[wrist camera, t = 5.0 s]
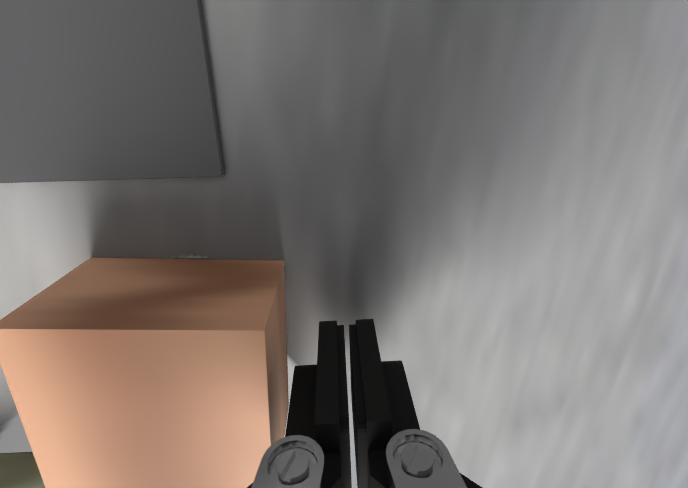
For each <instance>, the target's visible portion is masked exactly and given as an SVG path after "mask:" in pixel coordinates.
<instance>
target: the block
mask: <svg viewBox="0 0 688 488" xmlns="http://www.w3.org/2000/svg"><path fill="white" fill-rule="evenodd" d="M0 364H1V367H2V370H3V372H4V375H5V378H6V381H7V383H8V386H9V389H10V392H11V394H12V397H13V400H14V403H15V405H16V408H17V411H18V414H19V416H20V419H21V422H22V425H23V427H24V430H25V433H26V435H27V438H28V441H29V444H30V446H31V449H32V452H33V455H34V457H35V460H36V463H37V466H38V468H39V471H40V474H41V477H42V479H43V482H44V485H45V488H247V487H248V486H249V485H251V484H252V483H253V482H254V479H255V476H256V473H257V470H258V468H259V465H260V462H261V459H262V457H263V455H264V453H265V452H266V450H267V449H268V448H269V447H270V446H271V445H272V444H273V443H275V442H276V441H278V440H279V439H281V438H284V435H285V427H286V420H287V412H288V404H289V402H288V401H289V400H288V366H287V344H286V311H285V278H284V260H219V259H152V258H90V259H88V260H87V261H85V262H84V263H82V264H81V265H79V266H78V267H77V268H75V269H74V270H72V271H71V272H69V273H68V274H66V275H65V276H64V277H62V278H61V279H59V280H58V281H56V282H55V283H53V284H52V285H51V286H49V287H48V288H46V289H45V290H43V291H42V292H40V293H39V294H37V295H36V296H35V297H33V298H32V299H30V300H29V301H27V302H26V303H24V304H23V305H22V306H20V307H19V308H17V309H16V310H14V311H13V312H11V313H10V314H9V315H7V316H6V317H4V318H3V319H1V320H0Z"/></svg>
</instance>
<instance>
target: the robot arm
mask: <svg viewBox="0 0 688 488" xmlns="http://www.w3.org/2000/svg"><path fill="white" fill-rule="evenodd" d="M349 337H350V366H351V395H352V412H353V426H354V441H355V455H356V471H357V486H358V488H482V487H480V486H479V485H477V484H476V483H474V482H473V481H471V480H470V479H468V478H467V477H465V476H464V475H462V474H461V473H459V471H458V469H457V467H456V465H455V463H454V461H453V459H452V457H451V455H450V453H449V451H448V449H447V448H446V446H445V445H444V443H443V442H442V441H441V440H440V439H439V438H437V437H436V436H435V435H433V434H431V433H429V432H427V431H424V430H420V427H419V424H418V420H417V416H416V412H415V408H414V405H413V401H412V397H411V393H410V389H409V386H408V382H407V378H406V374H405V371H404V367H403V364H402V361H383V362H381V359H380V353H379V348H378V343H377V337H376V332H375V326H374V321H373V319H363V320H356V325H349ZM247 488H352V487H351V461H350V435H349V413H348V395H347V377H346V358H345V340H344V325H337V321H320V322H319V339H318V359H317V365H301V366H295V368H294V375H293V383H292V390H291V398H290V405H289V413H288V420H287V429H286V436H285V437H284V438H281V439H279V440H278V441H276V442H275V443H273V444H272V445H271V446H270V447H269V448H268V449H267V450H266V452H265V453H264V455H263V457H262V459H261V462H260V465H259V468H258V470H257V473H256V476H255V479H254V482H253V483H252V484H251V485H249V486H248V487H247Z"/></svg>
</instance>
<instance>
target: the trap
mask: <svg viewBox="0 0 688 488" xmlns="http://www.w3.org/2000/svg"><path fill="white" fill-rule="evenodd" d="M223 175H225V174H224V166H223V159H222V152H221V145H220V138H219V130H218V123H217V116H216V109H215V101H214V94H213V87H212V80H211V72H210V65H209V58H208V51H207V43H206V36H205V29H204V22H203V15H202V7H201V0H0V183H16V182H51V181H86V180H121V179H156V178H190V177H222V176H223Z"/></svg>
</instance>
